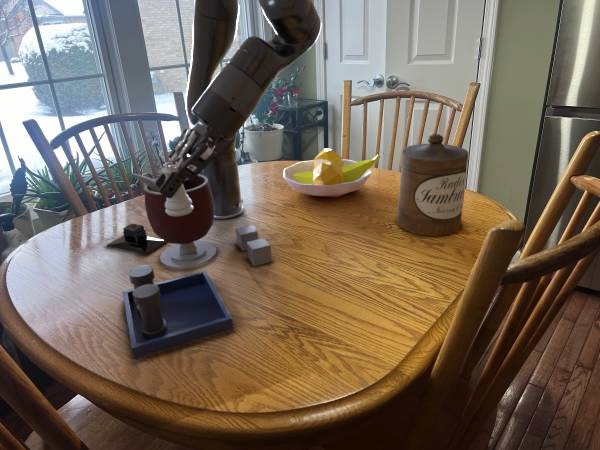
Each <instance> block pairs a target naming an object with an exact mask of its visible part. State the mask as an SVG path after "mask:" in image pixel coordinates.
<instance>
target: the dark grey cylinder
mask: <svg viewBox="0 0 600 450" xmlns="http://www.w3.org/2000/svg"><path fill="white" fill-rule="evenodd" d="M134 289H135V288H134ZM133 298H134V302H135V304H136V305H138V307H139V311H140V315H141V319H142V324H143V325H142V327H141V331H142V335H143V337H144V338H145V339H150V340H152V339H155V338H158V337H162V336H163V335H165V334H166V332H167V330H168V328H167V323H166V321H165V320H163V317H162V312H161V307H160V303H159V300H160V298H161V295H160V290H159V287H158V286H157V285H155V283H154V284H146V285H142V286H140V287H138V288H136V289H135V290H134V291H133Z"/></svg>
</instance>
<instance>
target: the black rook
mask: <svg viewBox="0 0 600 450" xmlns="http://www.w3.org/2000/svg"><path fill="white" fill-rule="evenodd" d="M128 279H129V282H130V284H132V285H133V289H136V288H138V287H140V286H142V285H146V284H155V282H154V279H155V271H154V267H153V266H152V265H148V264H143V265H138V266H135V267H133V268H131V269H130V270H128ZM159 303H160V301H159ZM160 307H161V304H160ZM137 312H138V314H139V315H140V311H139V307H138V305H137Z"/></svg>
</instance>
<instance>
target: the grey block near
mask: <svg viewBox="0 0 600 450" xmlns="http://www.w3.org/2000/svg"><path fill="white" fill-rule="evenodd" d="M246 243H247V250H246V251H247V259H248V261H249V262H250V263H251V264H252V266H253V267H258V266H262V265H264V264H270V263H272V261H273V259H272V250H271V249H272V247H271V244H270V243H269V242H268V241H267V239H265V238H264V237H263V238H258V240H254V241H250V242H246Z"/></svg>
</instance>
